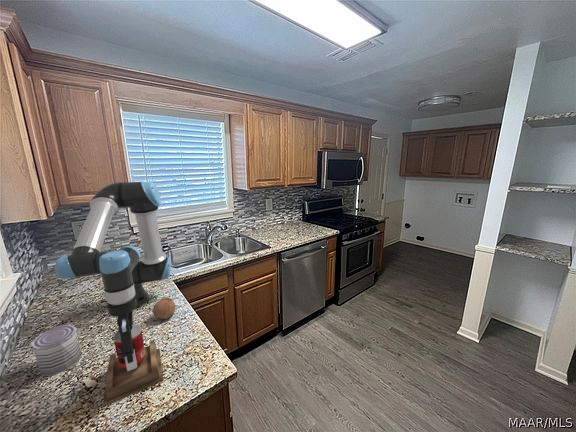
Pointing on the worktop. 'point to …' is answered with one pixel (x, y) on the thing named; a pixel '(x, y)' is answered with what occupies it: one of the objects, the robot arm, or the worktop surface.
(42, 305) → the worktop surface
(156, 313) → the onion
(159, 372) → the brown square tray
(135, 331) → the canned food
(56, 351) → the can
